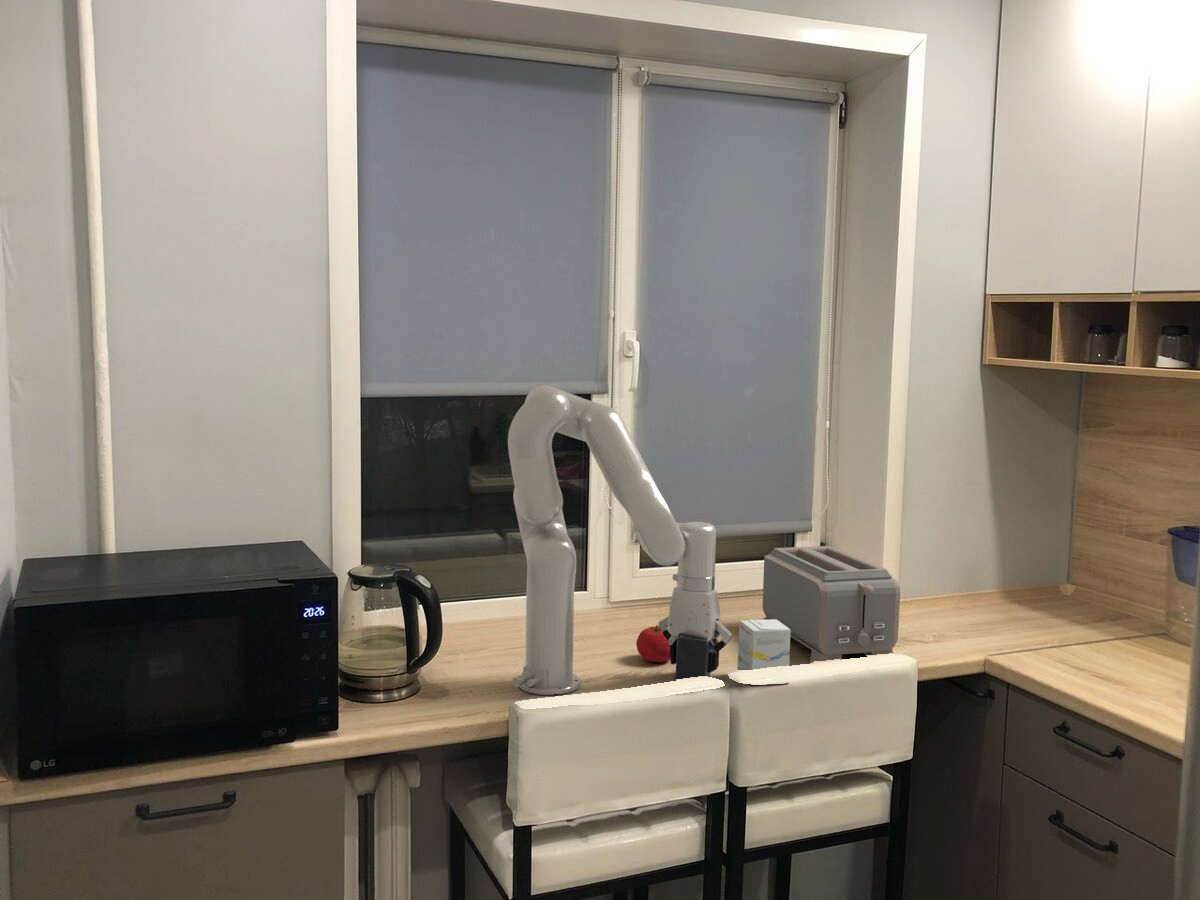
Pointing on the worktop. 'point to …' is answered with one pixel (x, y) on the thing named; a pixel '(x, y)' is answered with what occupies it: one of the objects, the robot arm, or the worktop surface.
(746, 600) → the worktop surface
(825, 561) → the toaster
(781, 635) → the ink box
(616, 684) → the worktop surface
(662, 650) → the tomato
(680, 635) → the small box
